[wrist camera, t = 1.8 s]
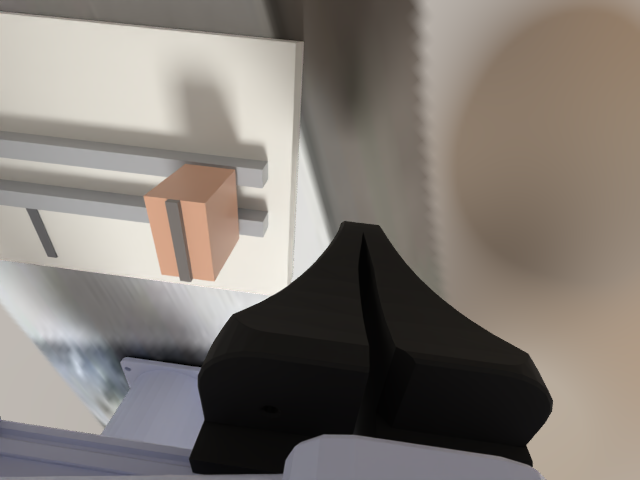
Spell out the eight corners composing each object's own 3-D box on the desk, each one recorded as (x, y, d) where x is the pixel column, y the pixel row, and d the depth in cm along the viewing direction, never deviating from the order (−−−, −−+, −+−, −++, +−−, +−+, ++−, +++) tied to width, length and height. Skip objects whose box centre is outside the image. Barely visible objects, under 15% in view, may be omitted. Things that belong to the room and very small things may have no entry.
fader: (245, 228, 15) (212, 285, 12) (203, 222, 15) (158, 278, 12) (242, 161, 14) (202, 206, 10) (194, 156, 14) (139, 198, 10)
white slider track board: (292, 274, 20) (283, 310, 17) (6, 238, 20) (-44, 267, 18) (304, 41, 13) (290, 43, 11) (-118, -1, 14) (-224, -8, 11)
